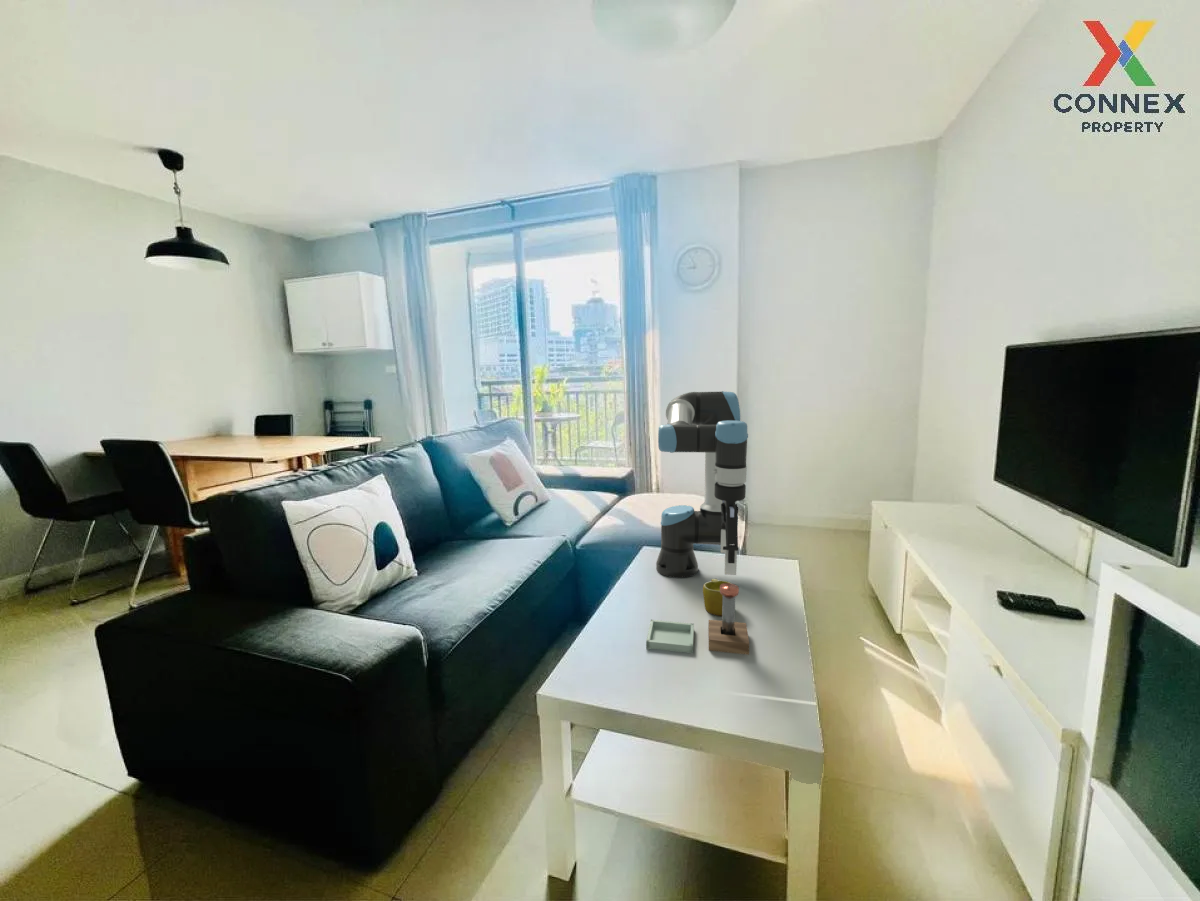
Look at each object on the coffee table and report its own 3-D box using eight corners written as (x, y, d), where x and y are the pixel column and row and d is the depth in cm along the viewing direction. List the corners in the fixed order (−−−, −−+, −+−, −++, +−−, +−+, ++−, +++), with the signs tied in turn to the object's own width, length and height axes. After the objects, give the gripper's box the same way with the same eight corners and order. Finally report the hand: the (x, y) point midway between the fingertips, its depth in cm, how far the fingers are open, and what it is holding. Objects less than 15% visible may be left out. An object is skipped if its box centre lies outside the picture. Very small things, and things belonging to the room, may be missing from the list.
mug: (742, 616, 135) (731, 582, 136) (707, 623, 137) (697, 589, 138) (741, 603, 146) (731, 572, 147) (709, 610, 149) (699, 579, 150)
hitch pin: (718, 635, 127) (719, 582, 125) (736, 637, 126) (738, 583, 124) (718, 645, 123) (720, 590, 120) (737, 647, 122) (739, 592, 119)
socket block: (708, 631, 131) (708, 619, 130) (745, 634, 128) (746, 623, 128) (708, 651, 121) (708, 639, 120) (748, 656, 119) (749, 643, 118)
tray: (650, 627, 133) (650, 619, 133) (693, 631, 130) (693, 623, 130) (646, 649, 123) (646, 641, 122) (692, 654, 120) (692, 646, 120)
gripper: (712, 471, 129) (710, 544, 133) (717, 495, 105) (715, 583, 109) (740, 472, 128) (737, 545, 132) (752, 496, 104) (749, 585, 107)
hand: (727, 563), depth 120 cm, fingers open, 13 cm apart
